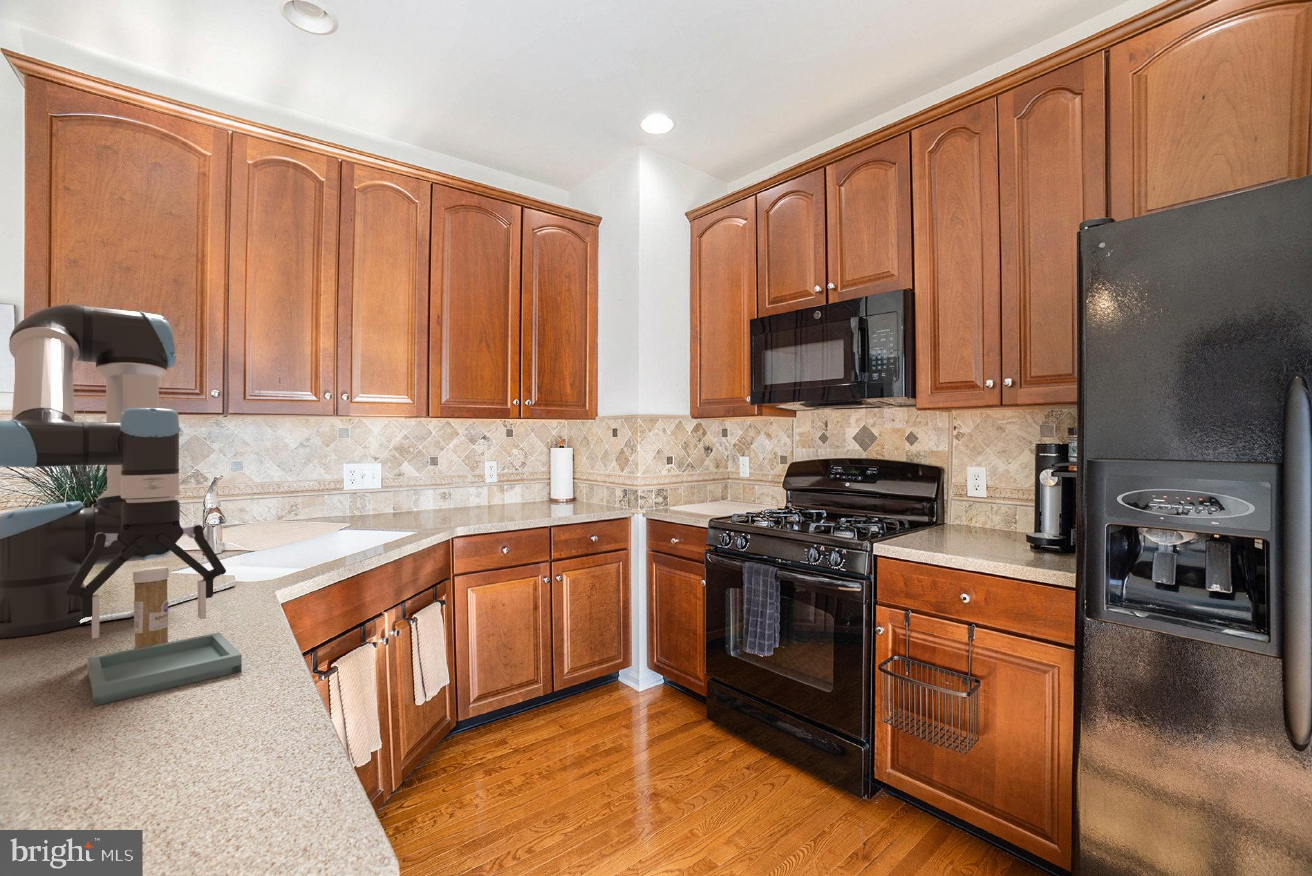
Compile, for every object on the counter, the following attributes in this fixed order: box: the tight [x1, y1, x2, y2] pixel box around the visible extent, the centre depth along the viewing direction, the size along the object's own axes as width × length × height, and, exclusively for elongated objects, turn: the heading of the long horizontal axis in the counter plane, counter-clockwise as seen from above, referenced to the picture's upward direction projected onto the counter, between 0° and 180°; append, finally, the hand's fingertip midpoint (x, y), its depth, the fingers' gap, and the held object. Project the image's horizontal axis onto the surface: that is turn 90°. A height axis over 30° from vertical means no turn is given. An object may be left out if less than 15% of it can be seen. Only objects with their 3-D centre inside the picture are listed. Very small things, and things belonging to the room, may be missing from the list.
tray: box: [87, 632, 243, 707], centre depth 88 cm, size 16×16×2 cm
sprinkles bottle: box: [132, 566, 170, 649], centre depth 99 cm, size 5×5×14 cm
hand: (151, 626), depth 99 cm, fingers open, 13 cm apart
